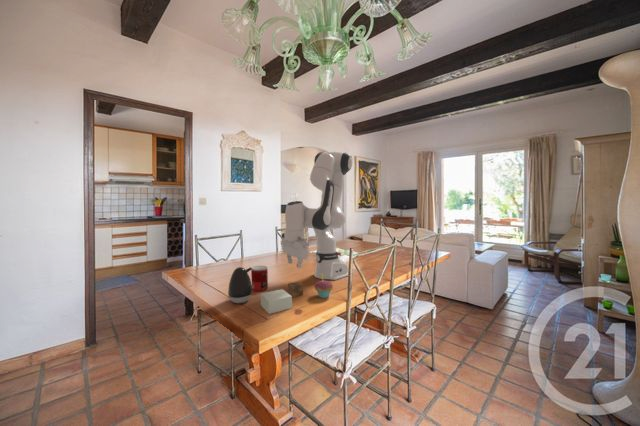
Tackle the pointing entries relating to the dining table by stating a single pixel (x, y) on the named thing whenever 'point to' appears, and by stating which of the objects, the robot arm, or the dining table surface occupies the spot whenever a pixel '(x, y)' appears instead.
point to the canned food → (259, 278)
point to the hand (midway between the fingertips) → (294, 265)
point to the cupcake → (323, 287)
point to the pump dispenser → (240, 286)
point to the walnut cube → (295, 289)
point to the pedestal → (276, 301)
